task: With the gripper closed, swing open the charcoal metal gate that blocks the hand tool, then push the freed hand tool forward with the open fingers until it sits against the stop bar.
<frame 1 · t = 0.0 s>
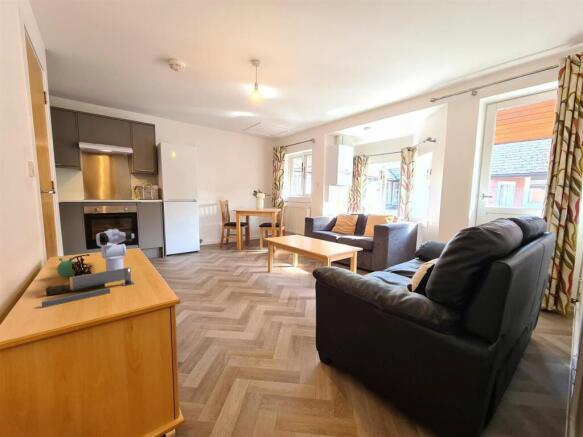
hand: (118, 238, 108), 22 cm above the table, tool horizontal, fingers open, 7 cm apart
gate base: (128, 283, 112), on the table
stop bar: (78, 299, 95), on the table
swing gate: (102, 280, 105), point 4 cm above the table, hinge at 0.0°
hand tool: (77, 291, 104), on the table
alien toy: (68, 277, 121), on the table
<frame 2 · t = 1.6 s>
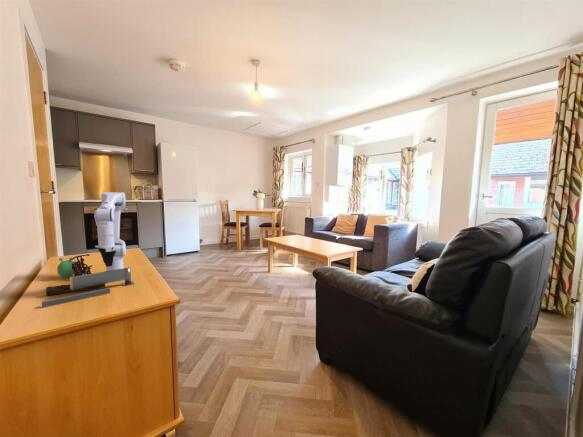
hand: (108, 264, 110), 9 cm above the table, tool pointing down, fingers open, 7 cm apart
nothing on the table moved.
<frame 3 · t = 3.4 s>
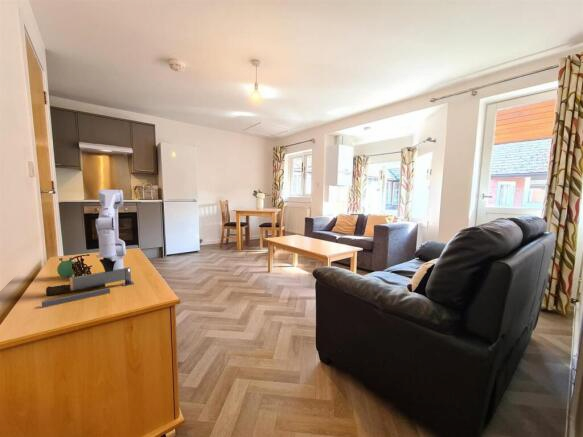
hand: (109, 274, 108), 6 cm above the table, tool pointing down, fingers closed, pressing on swing gate
swing gate: (102, 280, 105), point 4 cm above the table, hinge at 2.7°, touching gripper
everything else where it was.
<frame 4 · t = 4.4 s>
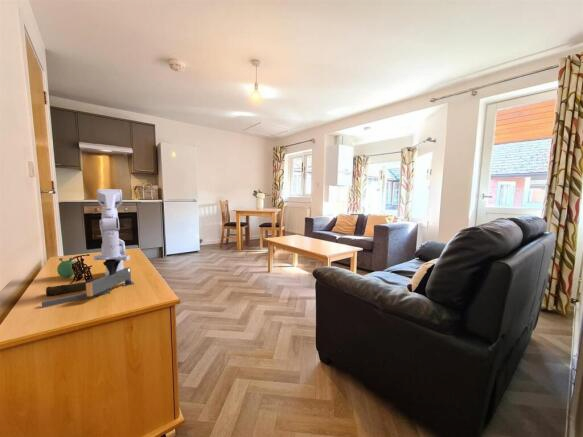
hand: (113, 276, 105), 6 cm above the table, tool pointing down, fingers closed, pressing on swing gate
swing gate: (111, 282, 102), point 4 cm above the table, hinge at 42.4°, touching gripper
everything else where it was.
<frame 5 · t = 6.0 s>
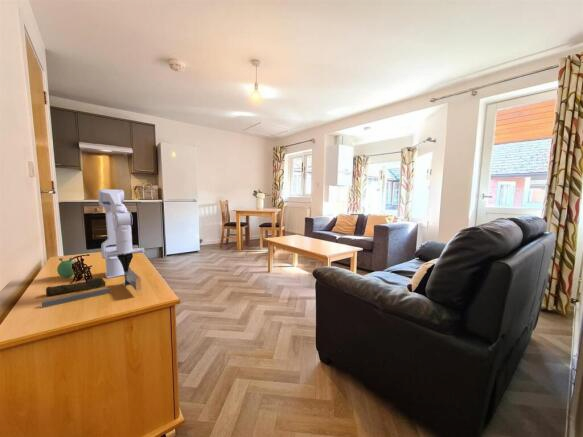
hand: (125, 271, 105), 8 cm above the table, tool pointing down, fingers closed
swing gate: (132, 280, 105), point 4 cm above the table, hinge at 92.3°
everything else where it was.
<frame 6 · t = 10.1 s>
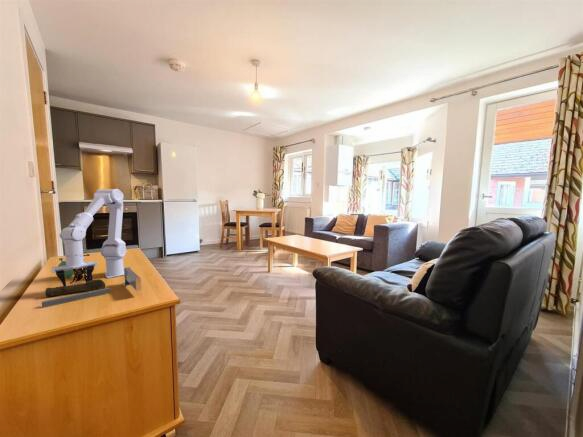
hand: (77, 285, 105), 2 cm above the table, tool pointing down, fingers open, 7 cm apart
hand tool: (77, 293, 102), on the table, touching gripper
everything else where it was.
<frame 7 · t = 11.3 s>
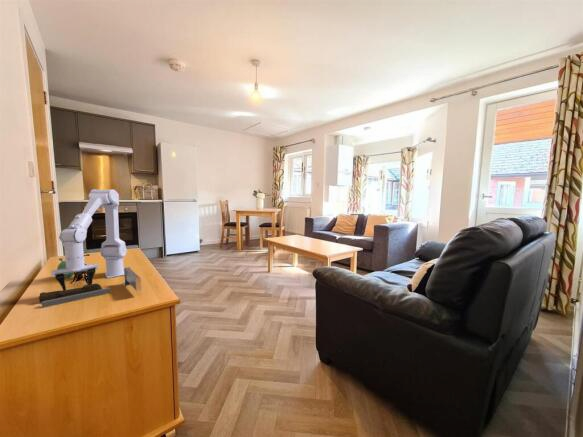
hand: (77, 289, 101), 2 cm above the table, tool pointing down, fingers open, 7 cm apart
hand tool: (73, 297, 98), on the table
everything else where it was.
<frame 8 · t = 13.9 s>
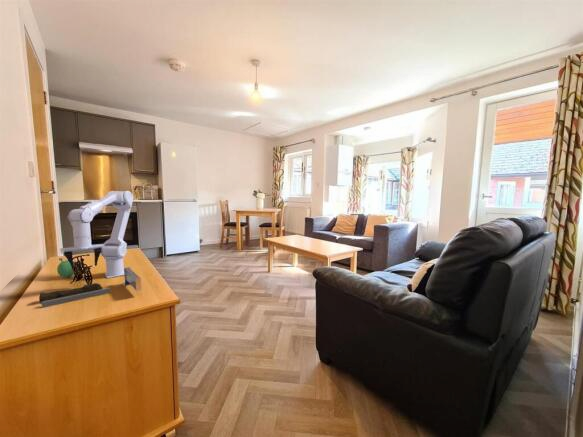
hand: (84, 266, 107), 9 cm above the table, tool pointing down, fingers open, 7 cm apart
nothing on the table moved.
at the end: swing gate at +92° (first picture: +0°); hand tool inside the target area (1.4 cm from its centre), on the table; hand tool moved 7.1 cm from its start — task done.
